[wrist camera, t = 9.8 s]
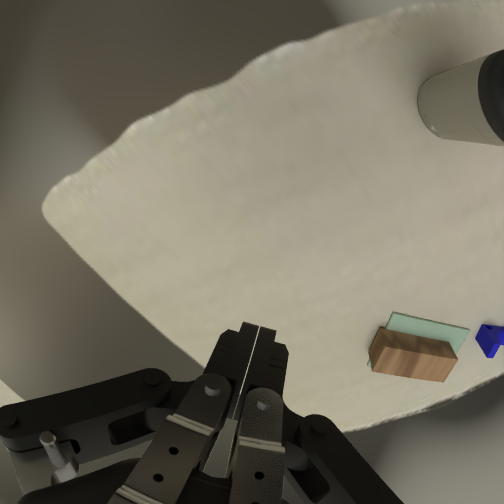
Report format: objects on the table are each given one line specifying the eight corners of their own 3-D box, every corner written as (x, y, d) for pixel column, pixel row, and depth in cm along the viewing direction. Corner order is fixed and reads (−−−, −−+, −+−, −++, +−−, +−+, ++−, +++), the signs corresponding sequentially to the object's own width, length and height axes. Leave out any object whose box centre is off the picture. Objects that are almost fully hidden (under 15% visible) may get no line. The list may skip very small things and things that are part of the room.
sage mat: (367, 364, 50) (367, 366, 50) (392, 311, 46) (393, 313, 46) (440, 376, 49) (441, 378, 49) (468, 329, 45) (469, 330, 44)
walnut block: (372, 371, 44) (443, 382, 43) (385, 346, 42) (458, 359, 41) (368, 351, 49) (436, 364, 48) (380, 327, 47) (449, 342, 46)
